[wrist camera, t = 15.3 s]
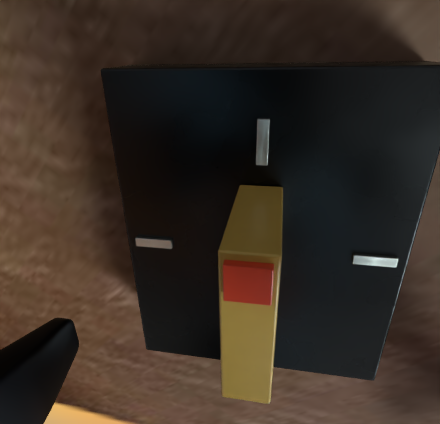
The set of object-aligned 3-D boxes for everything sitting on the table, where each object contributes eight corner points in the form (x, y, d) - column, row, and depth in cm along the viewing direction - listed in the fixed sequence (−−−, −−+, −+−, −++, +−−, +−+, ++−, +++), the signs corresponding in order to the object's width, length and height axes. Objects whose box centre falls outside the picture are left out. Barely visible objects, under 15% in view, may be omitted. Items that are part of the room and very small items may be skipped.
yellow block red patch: (274, 306, 13) (269, 413, 9) (238, 302, 13) (219, 405, 9) (282, 186, 11) (282, 262, 7) (239, 184, 11) (215, 256, 7)
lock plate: (362, 335, 16) (375, 385, 14) (163, 312, 17) (144, 353, 15) (427, 60, 11) (468, 65, 8) (132, 64, 12) (96, 68, 10)
